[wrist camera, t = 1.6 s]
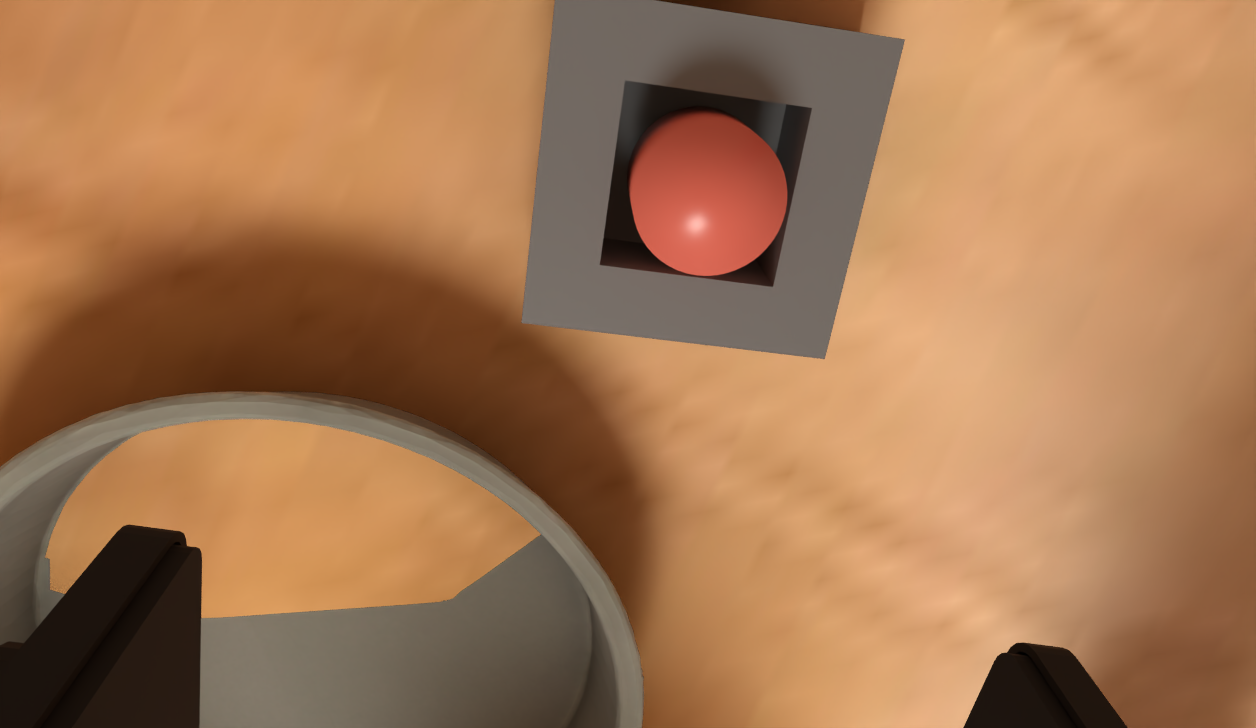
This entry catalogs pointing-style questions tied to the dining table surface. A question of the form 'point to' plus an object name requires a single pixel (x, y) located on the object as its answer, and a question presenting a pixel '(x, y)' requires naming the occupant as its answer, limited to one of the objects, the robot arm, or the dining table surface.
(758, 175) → the button
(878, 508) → the dining table surface
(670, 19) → the button base
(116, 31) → the dining table surface
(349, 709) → the cake pan
